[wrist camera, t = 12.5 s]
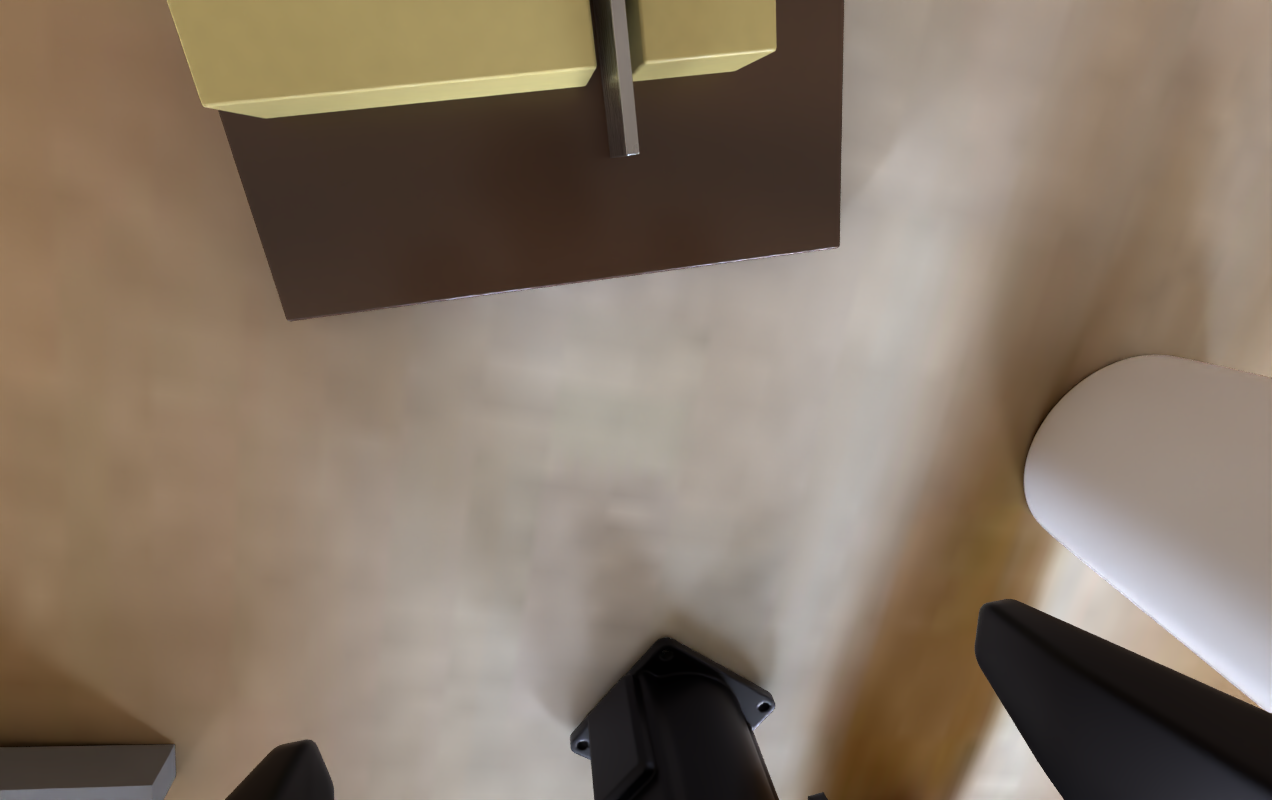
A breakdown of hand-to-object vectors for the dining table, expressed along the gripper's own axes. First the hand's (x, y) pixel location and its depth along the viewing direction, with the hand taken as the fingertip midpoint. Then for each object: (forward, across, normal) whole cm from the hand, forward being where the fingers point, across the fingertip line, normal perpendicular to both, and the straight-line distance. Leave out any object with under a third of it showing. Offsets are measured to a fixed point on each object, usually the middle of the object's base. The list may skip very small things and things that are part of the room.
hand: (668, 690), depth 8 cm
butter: (+12, +3, -10) cm, 16 cm away
